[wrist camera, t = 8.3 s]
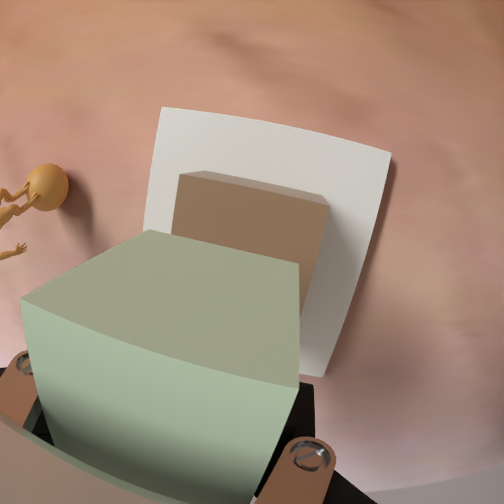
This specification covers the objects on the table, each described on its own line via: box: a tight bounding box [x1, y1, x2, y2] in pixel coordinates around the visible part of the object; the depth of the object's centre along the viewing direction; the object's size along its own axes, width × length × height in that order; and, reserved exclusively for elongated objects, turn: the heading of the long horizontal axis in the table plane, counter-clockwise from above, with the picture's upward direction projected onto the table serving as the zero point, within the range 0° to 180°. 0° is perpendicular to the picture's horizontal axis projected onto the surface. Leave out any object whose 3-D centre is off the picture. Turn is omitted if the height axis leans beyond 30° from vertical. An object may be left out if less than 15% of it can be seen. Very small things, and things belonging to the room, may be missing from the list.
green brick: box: [20, 229, 300, 504], centre depth 8 cm, size 8×5×6 cm, turn 169°
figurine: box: [0, 164, 69, 260], centre depth 19 cm, size 8×6×12 cm
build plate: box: [143, 107, 392, 378], centre depth 21 cm, size 18×16×6 cm
